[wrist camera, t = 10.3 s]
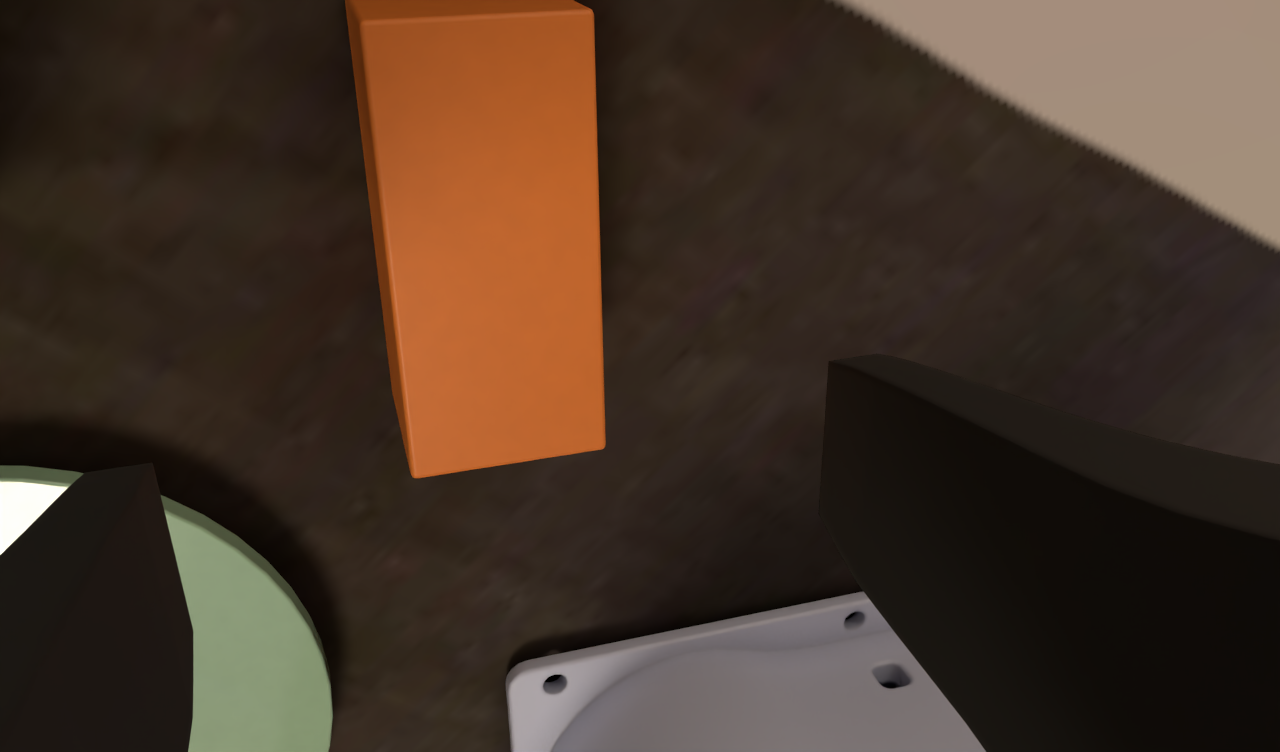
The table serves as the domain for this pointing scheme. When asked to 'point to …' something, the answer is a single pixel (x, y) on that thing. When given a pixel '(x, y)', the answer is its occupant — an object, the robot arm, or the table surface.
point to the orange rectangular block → (485, 224)
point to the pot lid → (221, 628)
